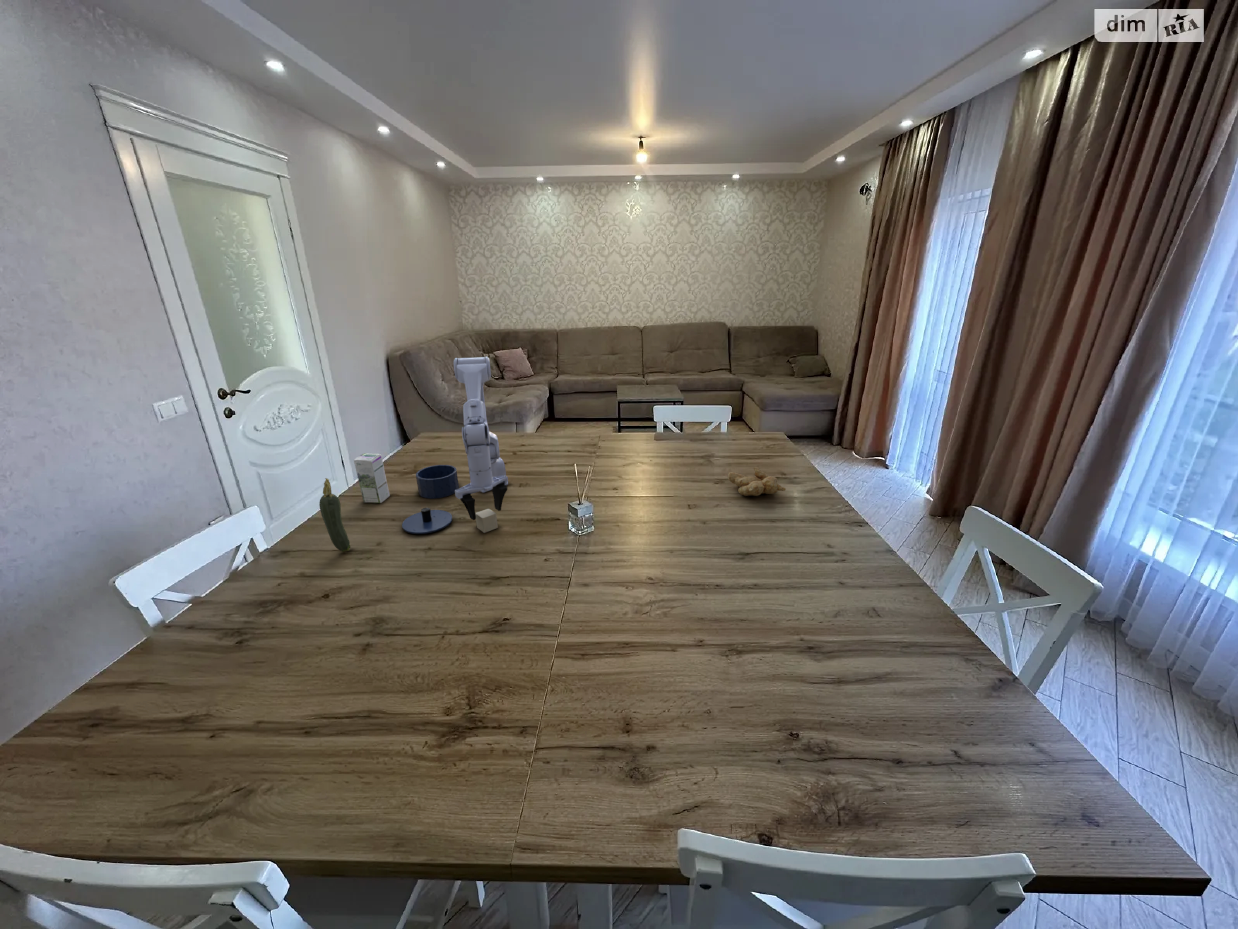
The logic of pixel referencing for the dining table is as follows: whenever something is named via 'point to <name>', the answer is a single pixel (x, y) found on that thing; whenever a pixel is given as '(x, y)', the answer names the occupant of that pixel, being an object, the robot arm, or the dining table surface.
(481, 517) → the block
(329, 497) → the vegetable
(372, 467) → the syrup box
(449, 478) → the pot
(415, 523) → the lid
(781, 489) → the ginger root
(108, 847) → the dining table surface
